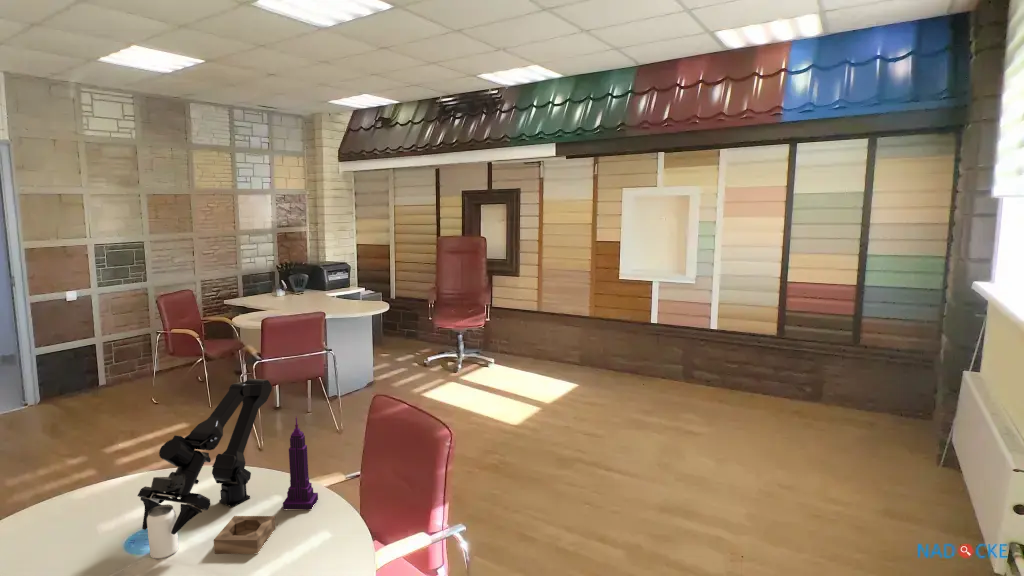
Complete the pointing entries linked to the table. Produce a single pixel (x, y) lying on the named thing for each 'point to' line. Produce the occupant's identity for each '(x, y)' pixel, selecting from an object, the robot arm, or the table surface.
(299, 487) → the building model
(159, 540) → the can
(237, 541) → the socket block
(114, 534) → the table surface
